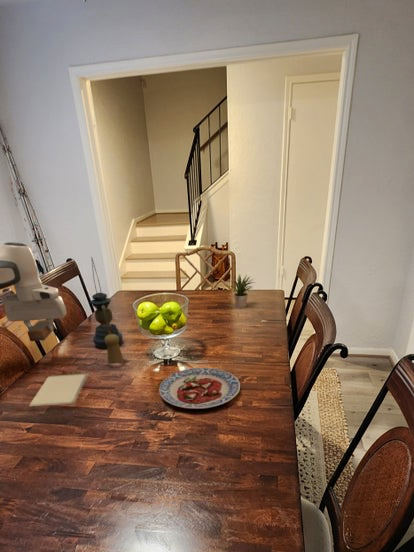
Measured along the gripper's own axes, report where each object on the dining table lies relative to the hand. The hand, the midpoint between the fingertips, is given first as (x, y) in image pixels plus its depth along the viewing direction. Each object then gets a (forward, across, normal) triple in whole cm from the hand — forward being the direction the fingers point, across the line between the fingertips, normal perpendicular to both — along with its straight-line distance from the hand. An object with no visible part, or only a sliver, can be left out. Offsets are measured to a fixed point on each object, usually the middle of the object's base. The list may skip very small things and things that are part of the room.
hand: (41, 330), depth 134 cm
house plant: (+14, +80, +56) cm, 99 cm away
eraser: (+1, 0, 0) cm, 1 cm away
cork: (+14, +25, -2) cm, 28 cm away
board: (+14, +10, -22) cm, 28 cm away
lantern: (+14, +19, +17) cm, 29 cm away
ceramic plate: (+14, +56, -28) cm, 64 cm away
